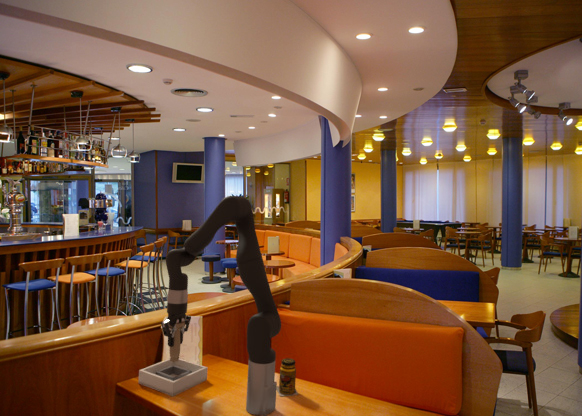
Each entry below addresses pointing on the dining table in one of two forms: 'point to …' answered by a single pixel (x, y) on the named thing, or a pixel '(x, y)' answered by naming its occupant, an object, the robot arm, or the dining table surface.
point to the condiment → (287, 378)
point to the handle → (176, 343)
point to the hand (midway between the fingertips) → (175, 344)
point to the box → (172, 376)
